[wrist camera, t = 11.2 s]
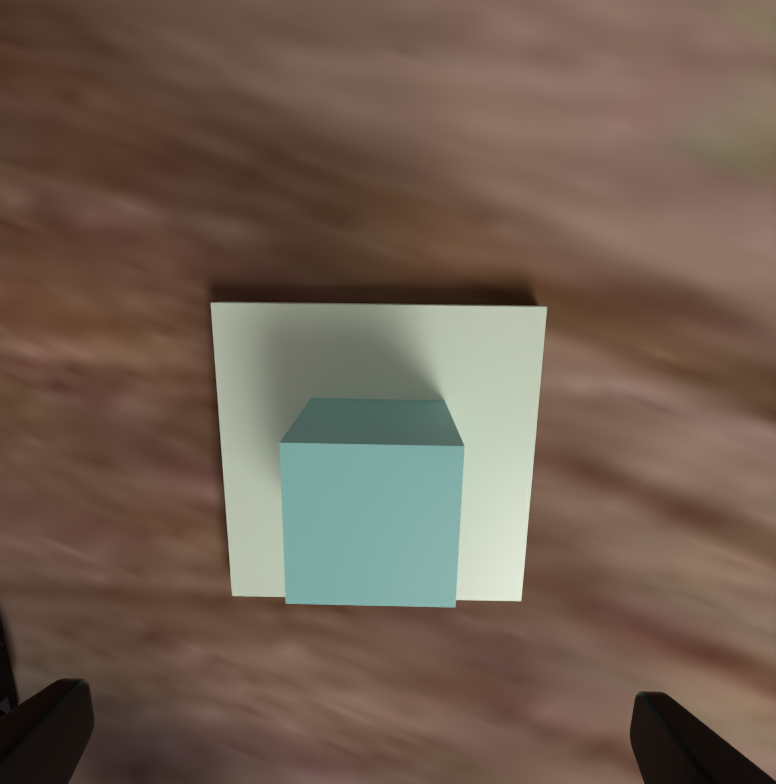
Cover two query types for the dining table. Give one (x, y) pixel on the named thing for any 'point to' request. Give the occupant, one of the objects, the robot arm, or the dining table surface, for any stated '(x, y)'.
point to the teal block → (372, 503)
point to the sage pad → (381, 381)
